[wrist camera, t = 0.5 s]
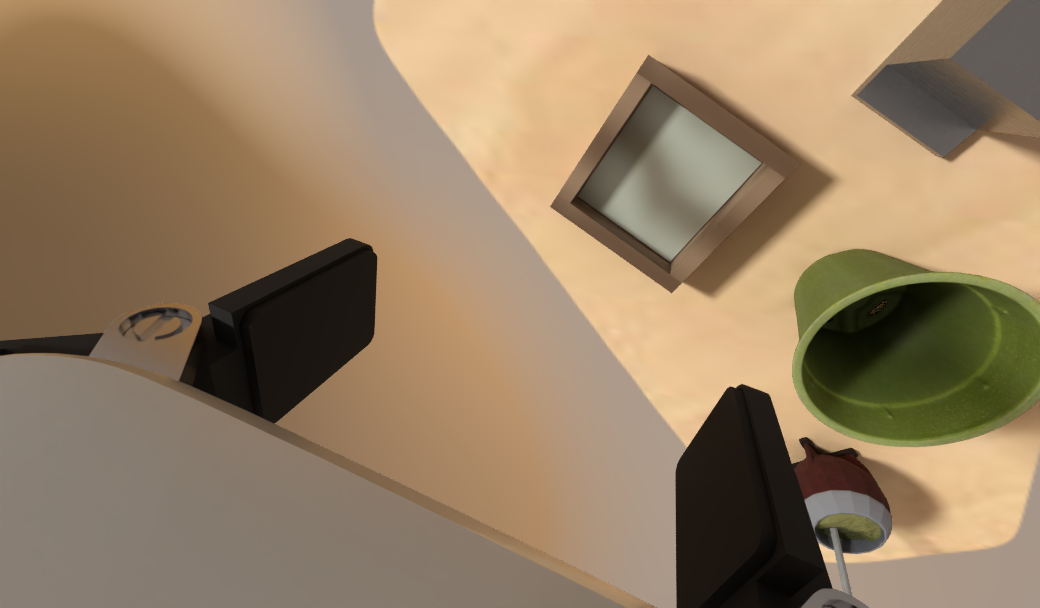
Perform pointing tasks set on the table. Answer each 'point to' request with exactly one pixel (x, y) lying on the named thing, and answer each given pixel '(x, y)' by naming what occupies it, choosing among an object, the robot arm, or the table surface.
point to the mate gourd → (843, 504)
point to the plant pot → (912, 350)
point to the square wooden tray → (669, 176)
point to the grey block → (962, 74)
